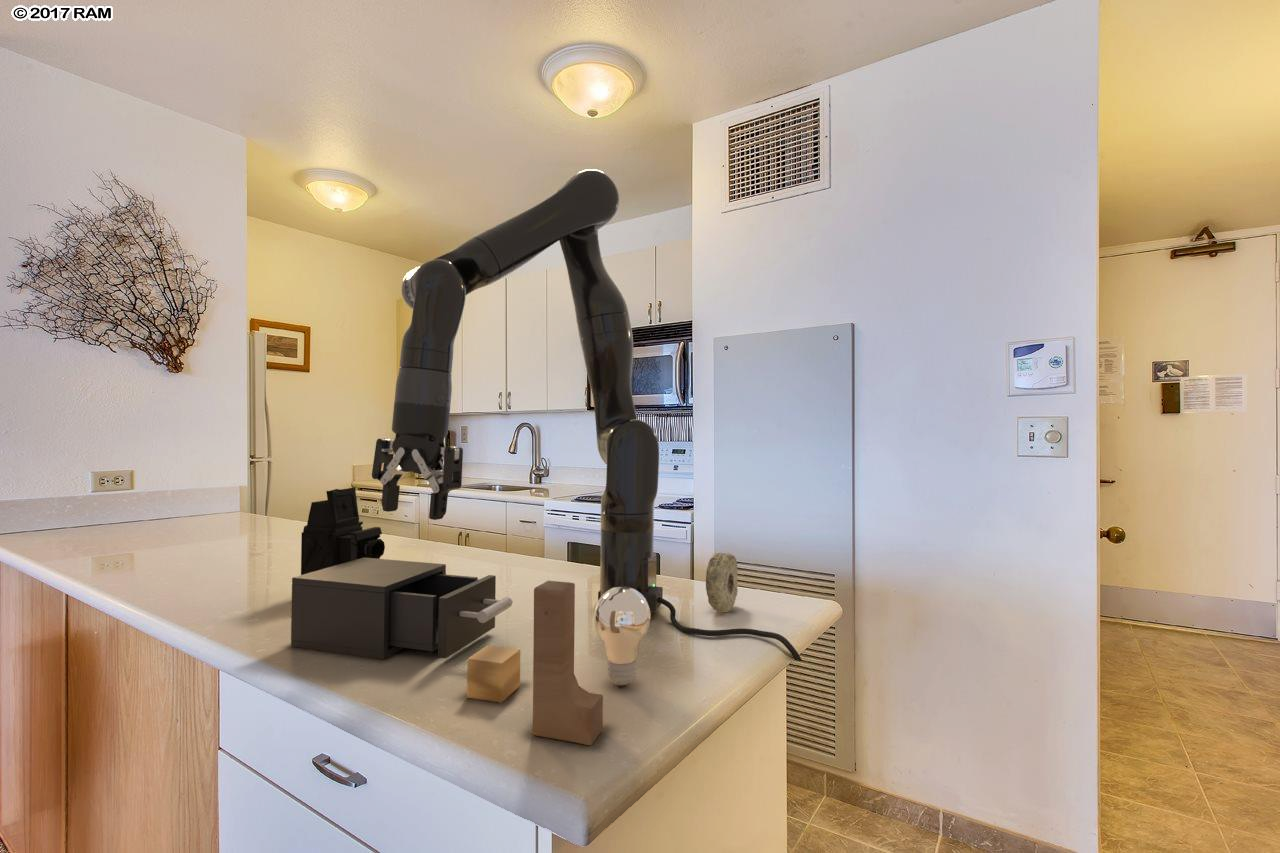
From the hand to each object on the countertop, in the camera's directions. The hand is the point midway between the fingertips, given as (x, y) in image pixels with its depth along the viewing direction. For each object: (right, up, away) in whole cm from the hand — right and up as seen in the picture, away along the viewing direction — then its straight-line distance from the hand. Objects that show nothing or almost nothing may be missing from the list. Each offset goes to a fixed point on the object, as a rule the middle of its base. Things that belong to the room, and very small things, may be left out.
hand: (412, 514), depth 81 cm
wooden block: (+25, -19, -23) cm, 39 cm away
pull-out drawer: (+4, -18, +1) cm, 18 cm away
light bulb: (+30, -19, -12) cm, 38 cm away
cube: (+15, -19, -14) cm, 28 cm away
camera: (-22, -19, +24) cm, 38 cm away
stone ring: (+47, -20, +18) cm, 54 cm away
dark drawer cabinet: (-8, -19, +4) cm, 21 cm away
